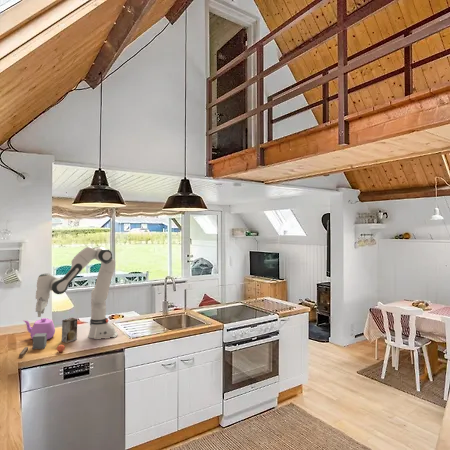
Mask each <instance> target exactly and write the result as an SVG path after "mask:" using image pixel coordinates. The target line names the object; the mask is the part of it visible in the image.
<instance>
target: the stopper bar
mask: <svg viewBox="0 0 450 450" xmlns="http://www.w3.org/2000/svg"><path fill="white" fill-rule="evenodd" d="M28 351H29V346H24V348H23V349H22V350H21V352H20V353H19V354H18V359H23V358H24V357H25V355H26V354H27V353H28Z"/></svg>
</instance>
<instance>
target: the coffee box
mask: <svg viewBox="0 0 450 450" xmlns="http://www.w3.org/2000/svg"><path fill="white" fill-rule="evenodd" d="M61 322H62V324H61V342H63V343H70V342H73V341H77V340H78V319H77V318H74V317H69V318H67V319H63V320H62V321H61Z"/></svg>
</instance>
